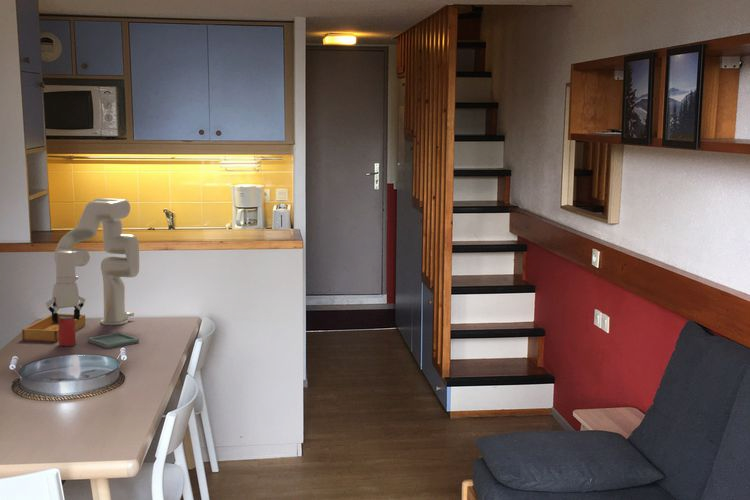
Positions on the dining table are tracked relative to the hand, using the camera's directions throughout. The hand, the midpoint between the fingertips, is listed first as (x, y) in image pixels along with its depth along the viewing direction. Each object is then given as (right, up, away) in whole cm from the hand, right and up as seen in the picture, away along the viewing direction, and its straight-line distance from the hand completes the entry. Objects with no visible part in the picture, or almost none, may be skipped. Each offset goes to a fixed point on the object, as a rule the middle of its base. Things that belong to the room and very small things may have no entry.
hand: (66, 320), depth 344 cm
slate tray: (+17, -10, +8) cm, 22 cm away
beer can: (0, -11, +2) cm, 11 cm away
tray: (-13, -8, +22) cm, 27 cm away
